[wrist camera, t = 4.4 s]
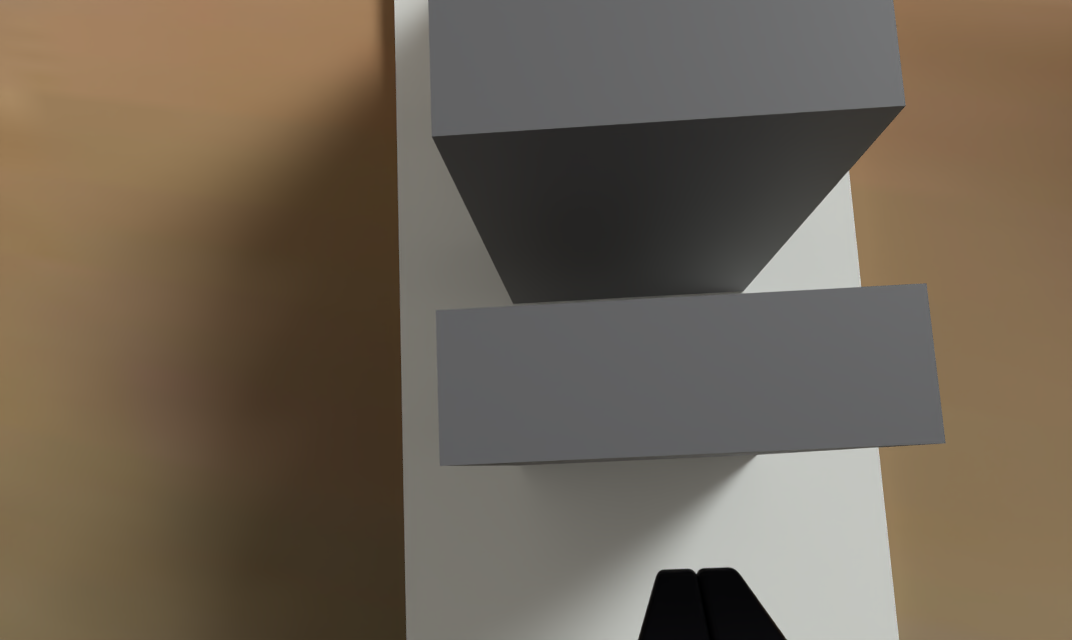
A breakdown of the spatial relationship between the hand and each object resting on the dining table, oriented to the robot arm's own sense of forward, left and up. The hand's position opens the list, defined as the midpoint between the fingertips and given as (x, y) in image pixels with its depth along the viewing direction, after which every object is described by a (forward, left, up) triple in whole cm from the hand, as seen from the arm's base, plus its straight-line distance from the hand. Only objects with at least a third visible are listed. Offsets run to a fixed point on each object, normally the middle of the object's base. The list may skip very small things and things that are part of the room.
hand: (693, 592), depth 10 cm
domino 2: (+1, +2, -9) cm, 9 cm away
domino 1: (+1, +6, -9) cm, 11 cm away
